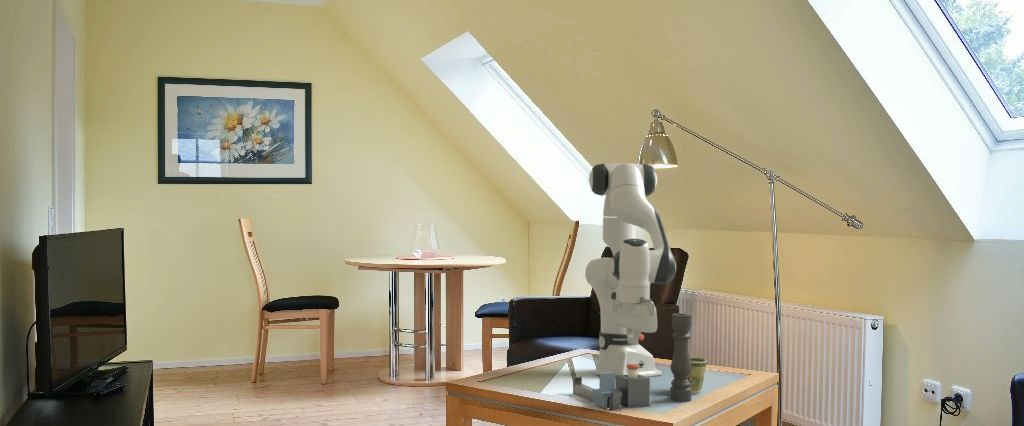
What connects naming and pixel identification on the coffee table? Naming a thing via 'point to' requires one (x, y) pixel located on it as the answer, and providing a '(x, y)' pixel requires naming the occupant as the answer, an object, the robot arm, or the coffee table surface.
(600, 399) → the carriage
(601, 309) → the robot arm
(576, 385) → the rail
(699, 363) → the ceramic cup
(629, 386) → the cabinet
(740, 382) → the coffee table surface
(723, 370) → the coffee table surface
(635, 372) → the gauge button
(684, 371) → the candle holder
